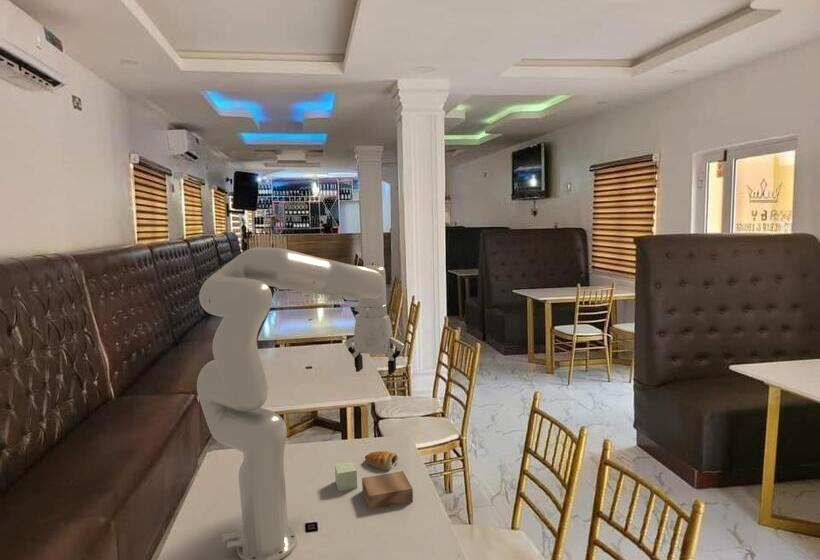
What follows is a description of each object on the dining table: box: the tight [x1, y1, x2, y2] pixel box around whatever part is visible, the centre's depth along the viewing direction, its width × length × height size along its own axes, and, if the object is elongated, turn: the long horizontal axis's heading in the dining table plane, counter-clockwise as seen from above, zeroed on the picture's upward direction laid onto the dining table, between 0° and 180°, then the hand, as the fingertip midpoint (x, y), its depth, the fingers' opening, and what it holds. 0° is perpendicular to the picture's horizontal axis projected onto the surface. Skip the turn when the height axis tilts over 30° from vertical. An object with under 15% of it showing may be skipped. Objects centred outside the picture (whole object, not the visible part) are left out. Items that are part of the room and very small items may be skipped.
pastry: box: [364, 450, 399, 471], centre depth 155 cm, size 9×7×4 cm
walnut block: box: [361, 470, 414, 511], centre depth 137 cm, size 11×9×4 cm
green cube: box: [334, 461, 358, 492], centre depth 143 cm, size 5×5×5 cm
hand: (375, 371), depth 149 cm, fingers open, 9 cm apart
